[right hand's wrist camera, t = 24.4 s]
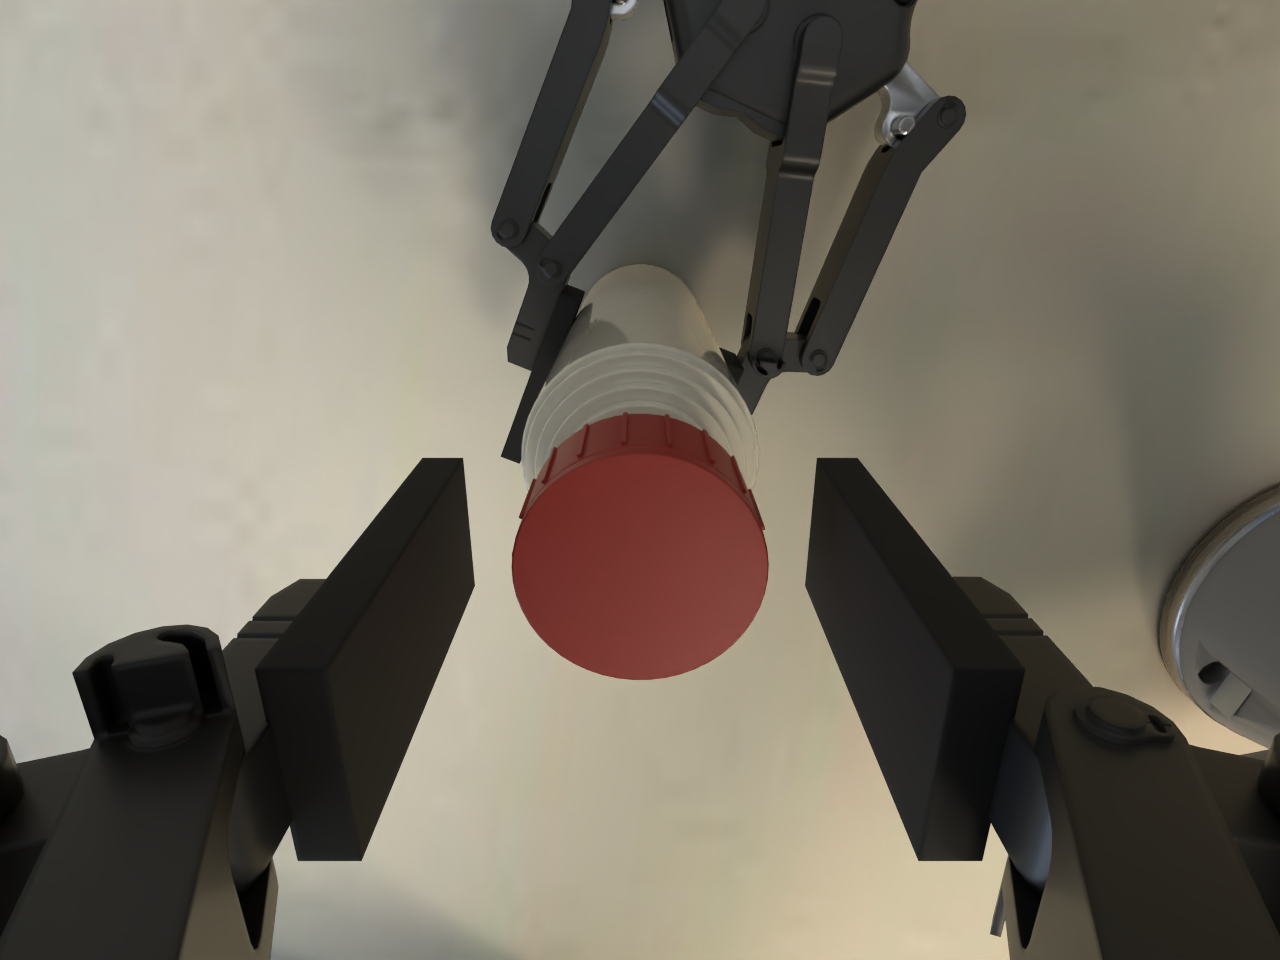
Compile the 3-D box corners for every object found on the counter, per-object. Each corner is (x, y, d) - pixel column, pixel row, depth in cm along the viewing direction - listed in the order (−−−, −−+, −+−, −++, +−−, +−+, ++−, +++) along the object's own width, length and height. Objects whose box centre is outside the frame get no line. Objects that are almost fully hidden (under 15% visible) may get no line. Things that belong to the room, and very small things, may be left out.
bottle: (573, 379, 35) (475, 664, 14) (585, 255, 33) (491, 378, 12) (691, 393, 35) (765, 695, 14) (710, 272, 33) (828, 420, 12)
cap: (595, 646, 16) (588, 718, 14) (485, 471, 14) (458, 521, 12) (787, 562, 15) (811, 623, 13) (691, 368, 14) (701, 402, 11)
